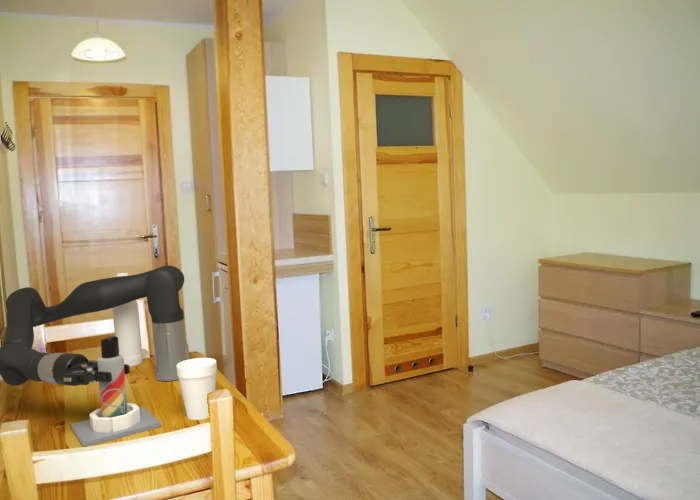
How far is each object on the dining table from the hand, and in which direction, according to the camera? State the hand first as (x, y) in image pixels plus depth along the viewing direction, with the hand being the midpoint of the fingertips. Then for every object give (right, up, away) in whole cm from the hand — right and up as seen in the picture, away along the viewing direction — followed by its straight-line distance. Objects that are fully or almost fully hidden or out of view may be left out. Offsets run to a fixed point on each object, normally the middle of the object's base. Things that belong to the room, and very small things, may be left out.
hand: (119, 373), depth 139 cm
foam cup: (+17, -12, +8) cm, 22 cm away
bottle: (-18, -9, +56) cm, 60 cm away
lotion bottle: (-2, -12, +2) cm, 12 cm away
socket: (-2, -13, +2) cm, 14 cm away
